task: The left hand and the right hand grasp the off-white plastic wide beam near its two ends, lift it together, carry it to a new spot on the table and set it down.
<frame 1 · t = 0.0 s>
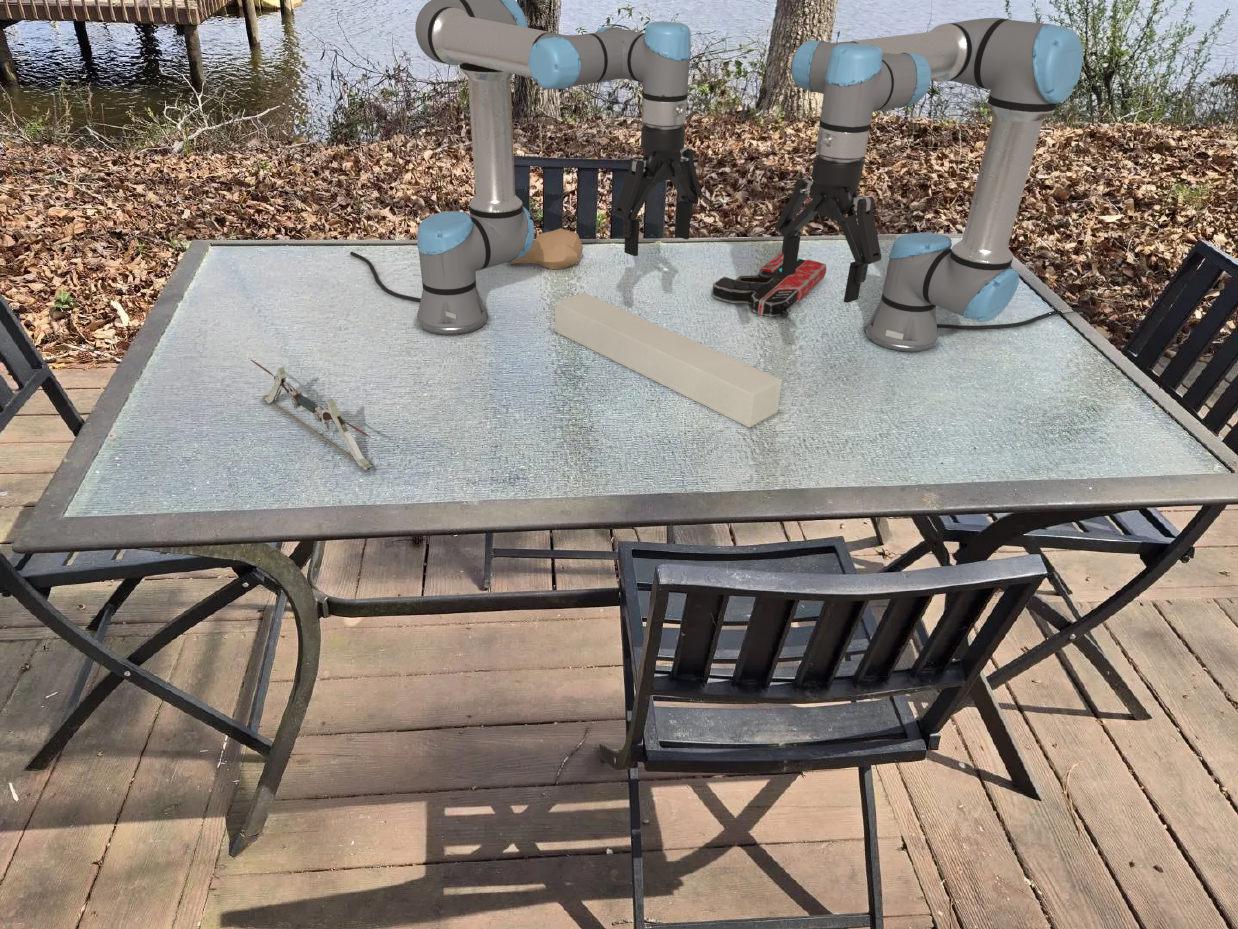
left hand: (657, 245, 161), 28 cm above the table, tool pointing down, fingers open, 13 cm apart
right hand: (818, 287, 146), 28 cm above the table, tool pointing down, fingers open, 13 cm apart
gun: (770, 291, 216), on the table
wide beam: (658, 368, 180), on the table
squash: (544, 264, 227), on the table
bow: (314, 433, 157), on the table
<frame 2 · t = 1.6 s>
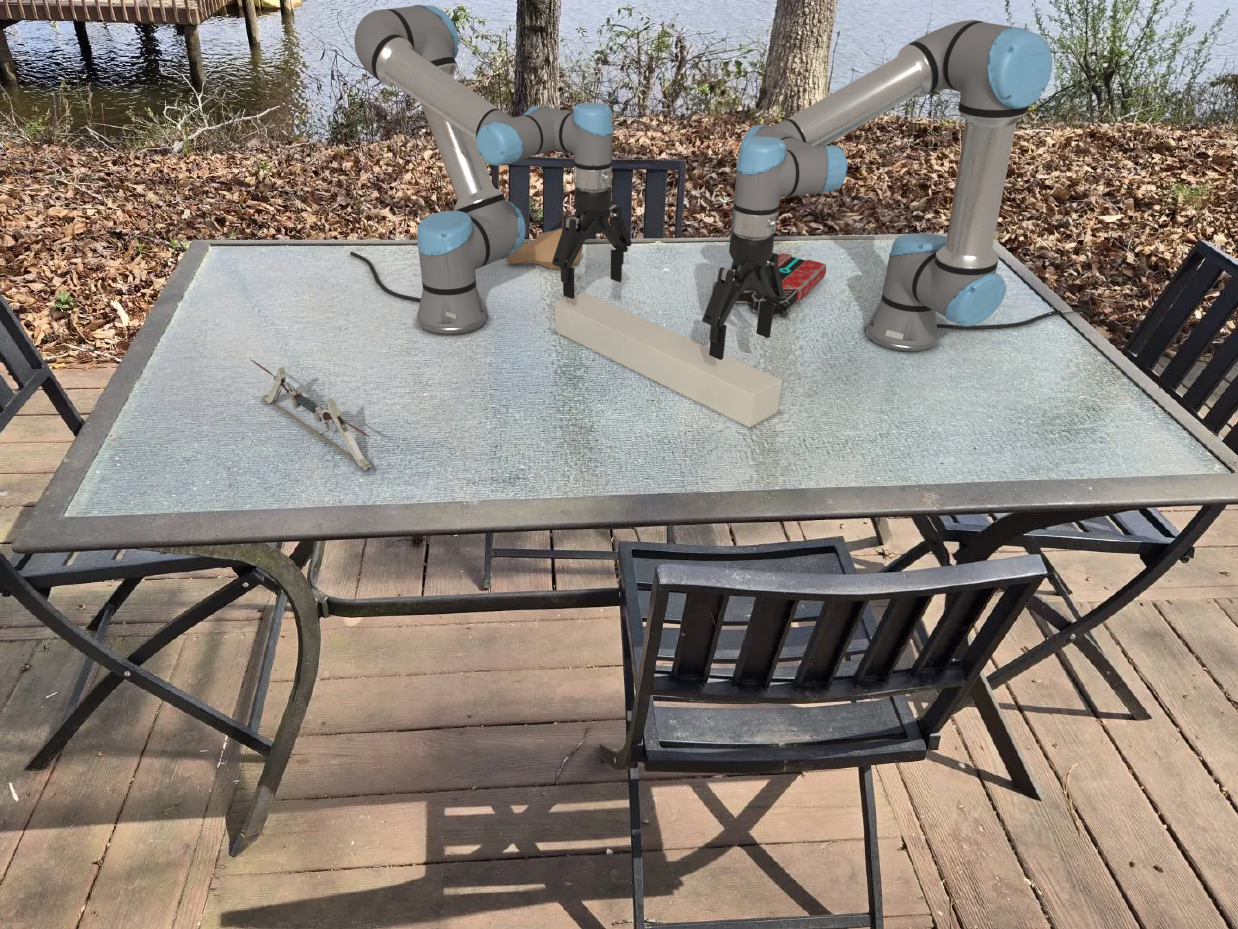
left hand: (592, 288, 186), 11 cm above the table, tool pointing down, fingers open, 13 cm apart
right hand: (740, 346, 162), 13 cm above the table, tool pointing down, fingers open, 13 cm apart
nothing on the table moved.
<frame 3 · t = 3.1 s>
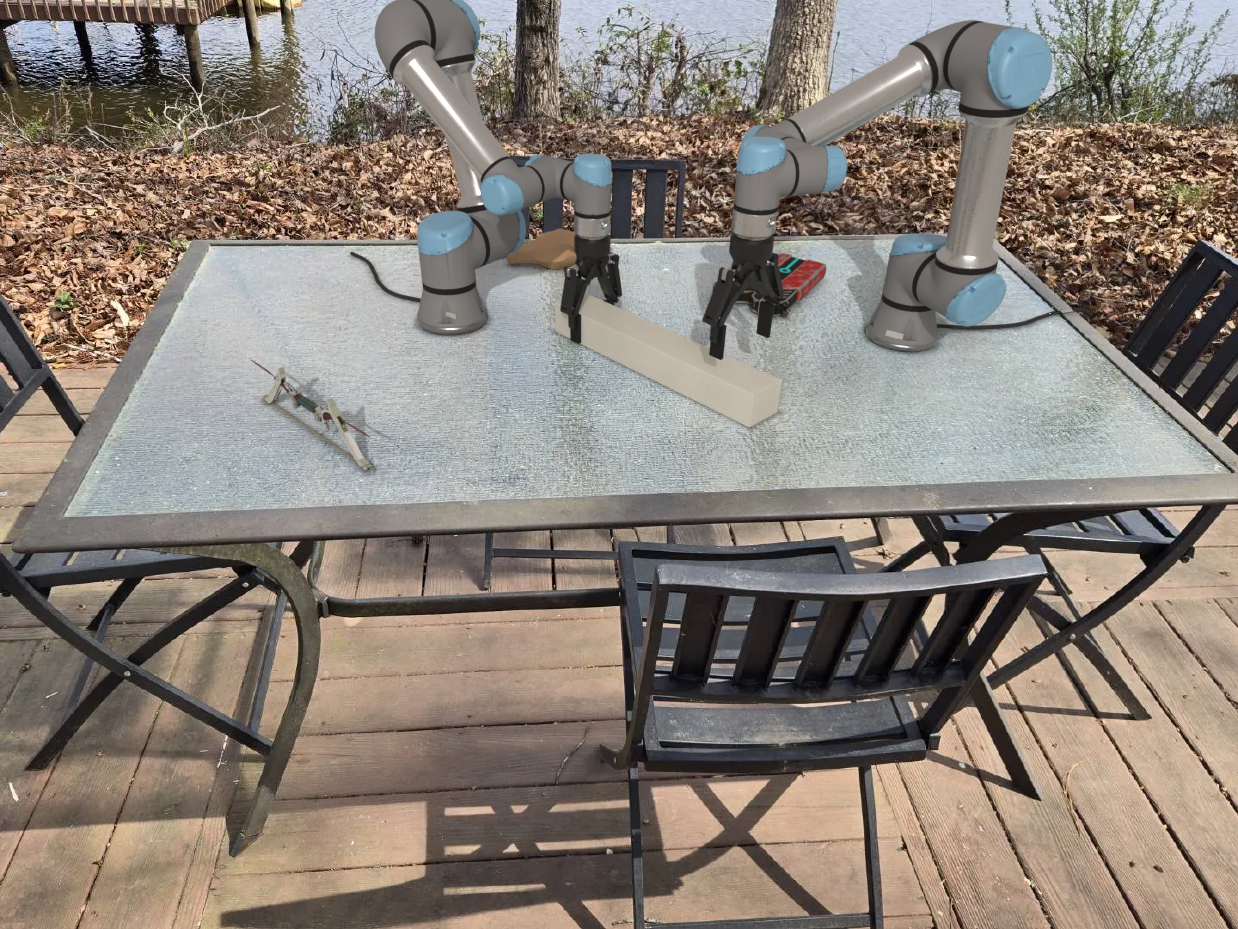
left hand: (591, 334, 192), 0 cm above the table, tool pointing down, fingers closed on wide beam, 9 cm apart
right hand: (740, 346, 162), 13 cm above the table, tool pointing down, fingers open, 13 cm apart
wide beam: (658, 368, 180), on the table, touching left hand
everything else where it was.
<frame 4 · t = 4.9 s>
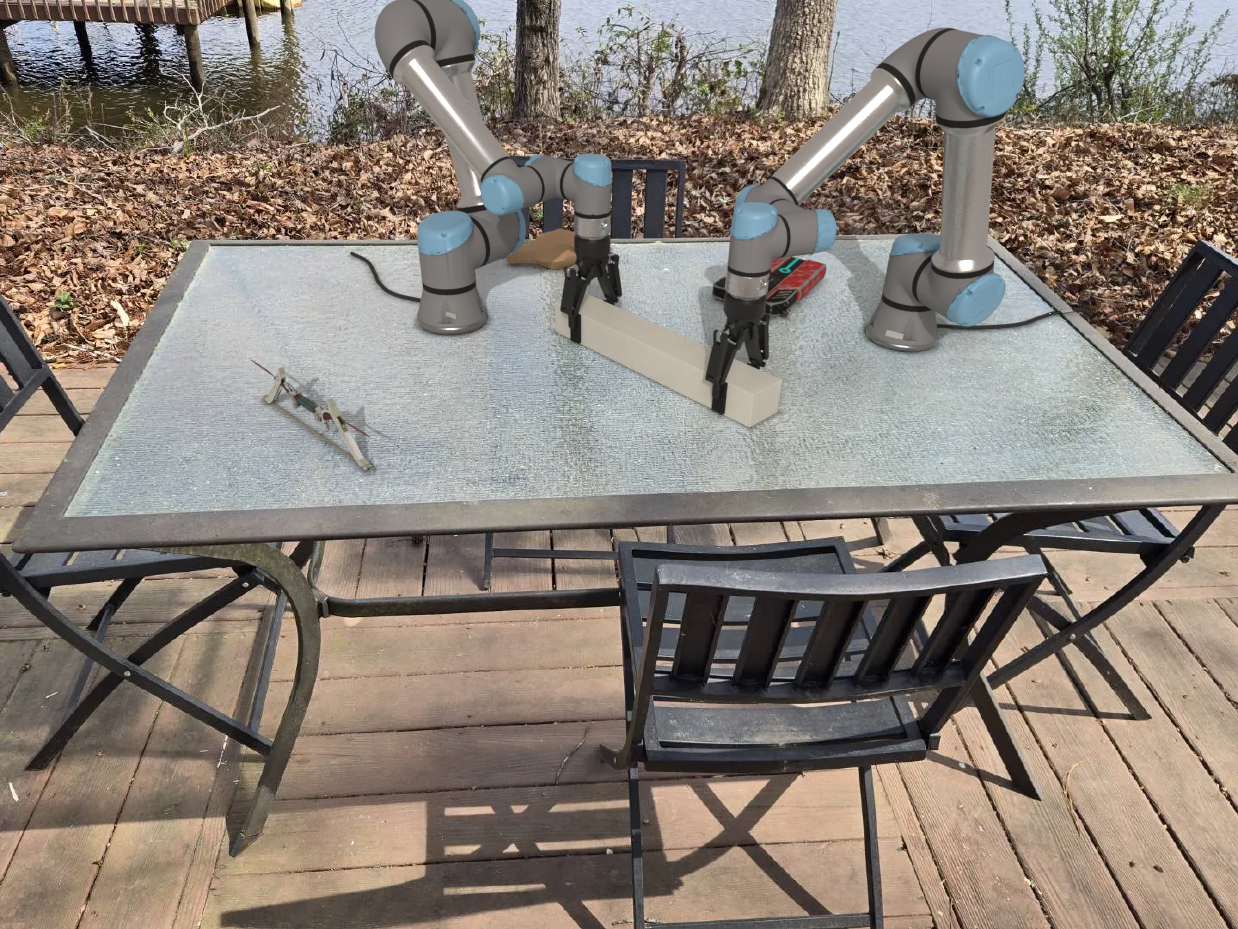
left hand: (591, 334, 192), 0 cm above the table, tool pointing down, fingers closed on wide beam, 9 cm apart
right hand: (733, 403, 168), 0 cm above the table, tool pointing down, fingers closed on wide beam, 9 cm apart
wide beam: (658, 368, 180), on the table, touching left hand, right hand
everything else where it was.
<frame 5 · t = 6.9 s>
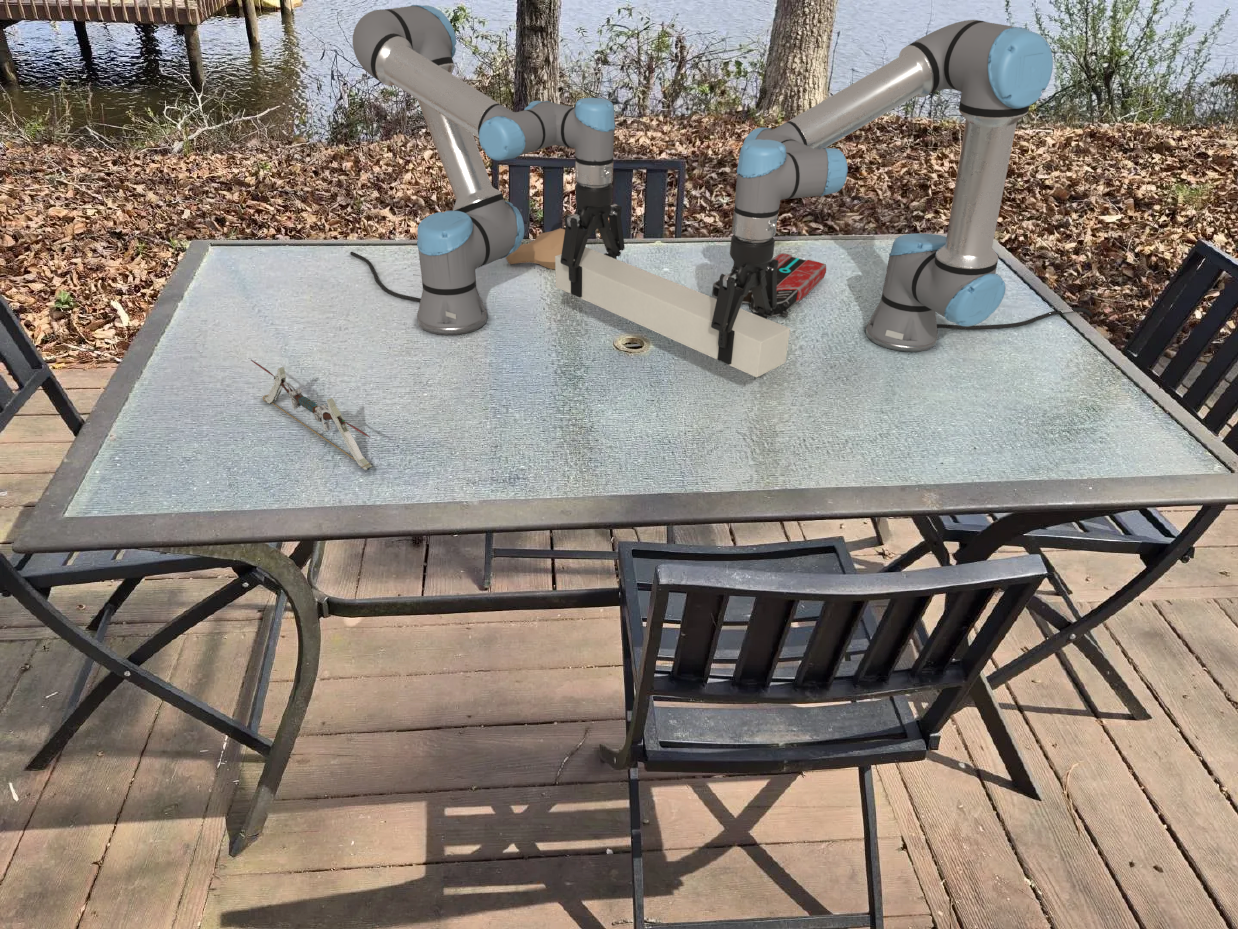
left hand: (592, 289, 187), 11 cm above the table, tool pointing down, fingers closed on wide beam, 9 cm apart
right hand: (740, 353, 163), 11 cm above the table, tool pointing down, fingers closed on wide beam, 9 cm apart
wide beam: (661, 322, 175), point 10 cm above the table, touching left hand, right hand
everything else where it was.
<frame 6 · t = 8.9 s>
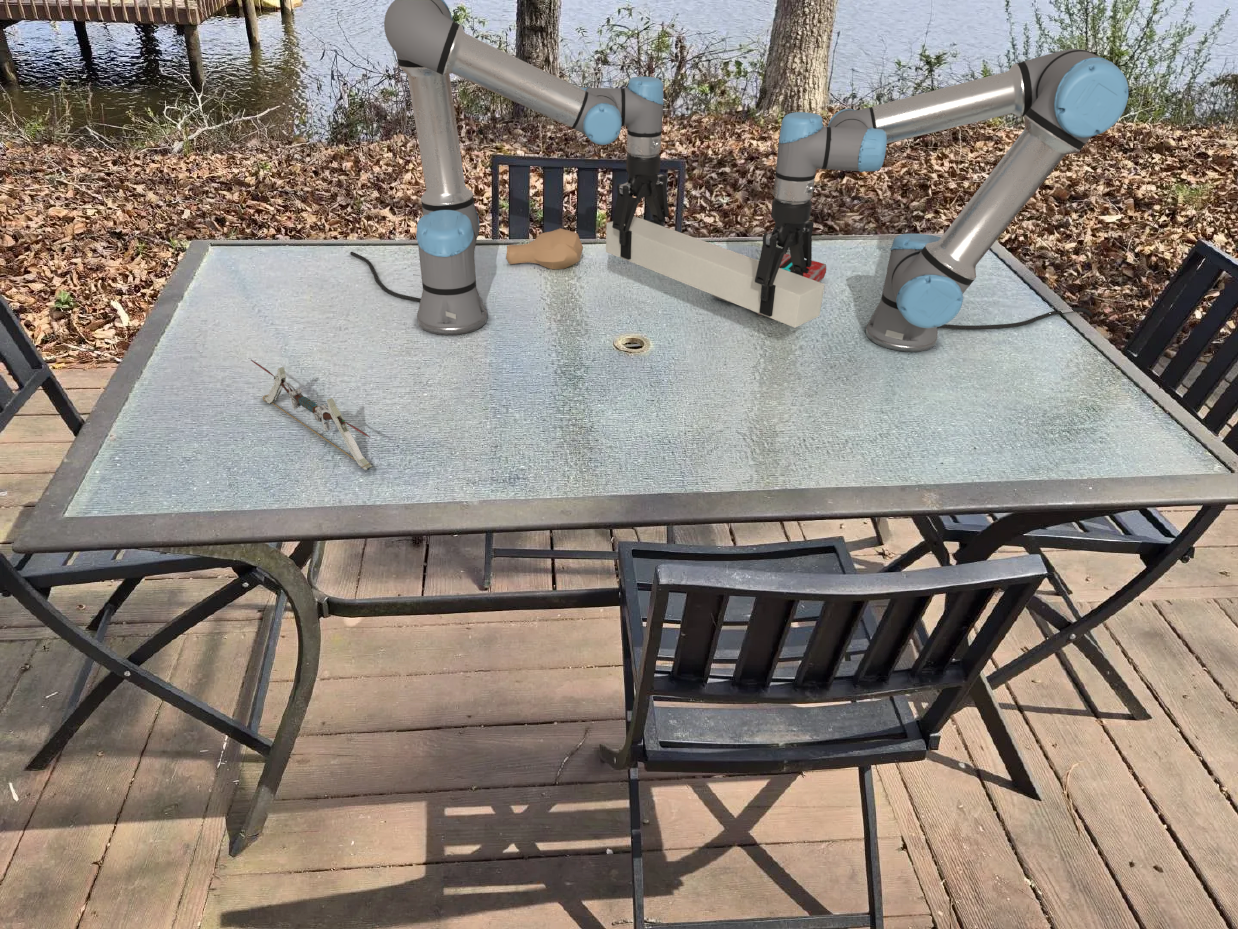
left hand: (639, 252, 205), 11 cm above the table, tool pointing down, fingers closed on wide beam, 9 cm apart
right hand: (779, 307, 182), 11 cm above the table, tool pointing down, fingers closed on wide beam, 9 cm apart
wide beam: (705, 281, 194), point 10 cm above the table, touching left hand, right hand
everything else where it was.
when the left hand's fingers open (2 cm above the table, at t = 10.7 s): wide beam drops 1 cm, on the table.
when the right hand's fingers open (2 cm above the table, at t = 10.7 s): wide beam drops 1 cm, on the table.
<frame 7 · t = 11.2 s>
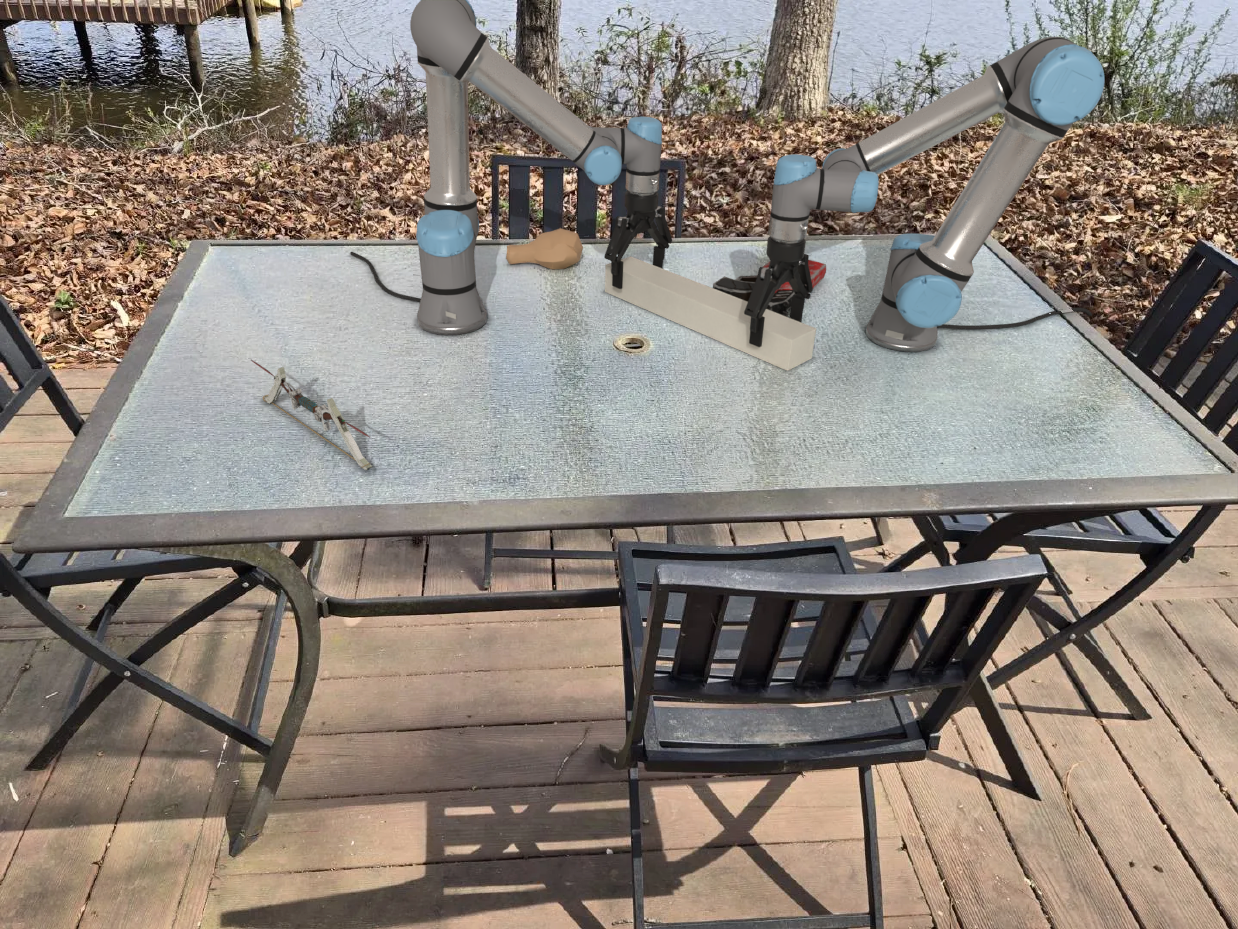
left hand: (637, 280, 209), 4 cm above the table, tool pointing down, fingers open, 13 cm apart
right hand: (775, 335, 186), 4 cm above the table, tool pointing down, fingers open, 13 cm apart
wide beam: (701, 323, 200), on the table
everything else where it was.
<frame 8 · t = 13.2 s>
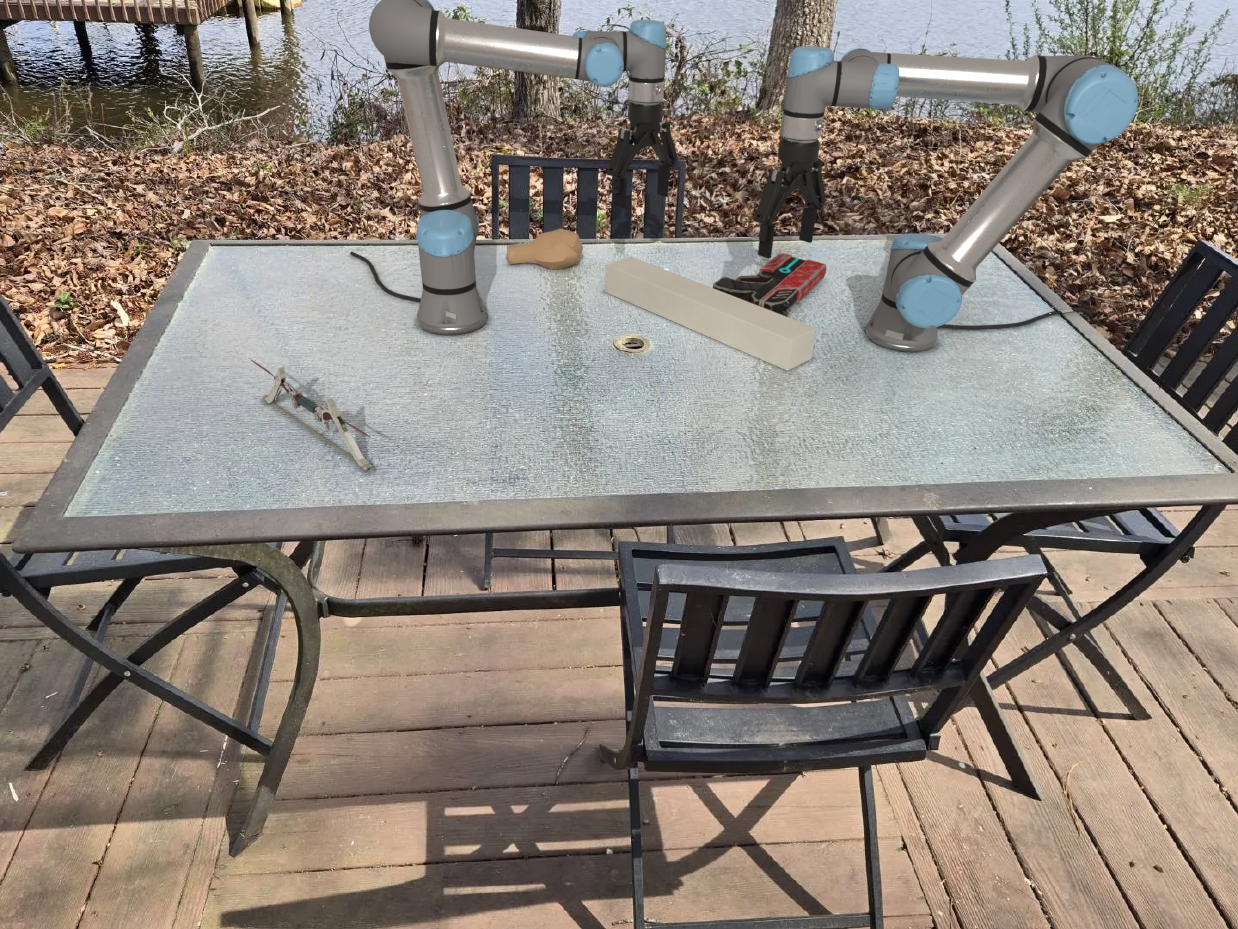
left hand: (641, 200, 199), 23 cm above the table, tool pointing down, fingers open, 13 cm apart
right hand: (785, 248, 175), 23 cm above the table, tool pointing down, fingers open, 13 cm apart
nothing on the table moved.
at the end: wide beam inside the target area (0.2 cm from its centre), on the table; wide beam tilted 0°; wide beam never tilted more than 1° during the clip; both hands held the wide beam at the same time; the left hand is holding nothing; the right hand is holding nothing; wide beam at rest at the end (0.0 cm/s) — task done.
